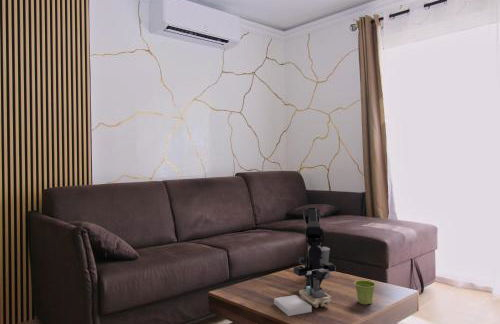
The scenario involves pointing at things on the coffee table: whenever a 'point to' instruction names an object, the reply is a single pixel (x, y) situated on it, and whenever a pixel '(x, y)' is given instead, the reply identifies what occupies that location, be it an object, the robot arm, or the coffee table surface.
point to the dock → (292, 305)
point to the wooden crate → (313, 301)
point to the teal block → (308, 290)
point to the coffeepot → (325, 258)
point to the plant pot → (364, 291)
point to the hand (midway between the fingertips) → (314, 287)
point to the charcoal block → (318, 294)
